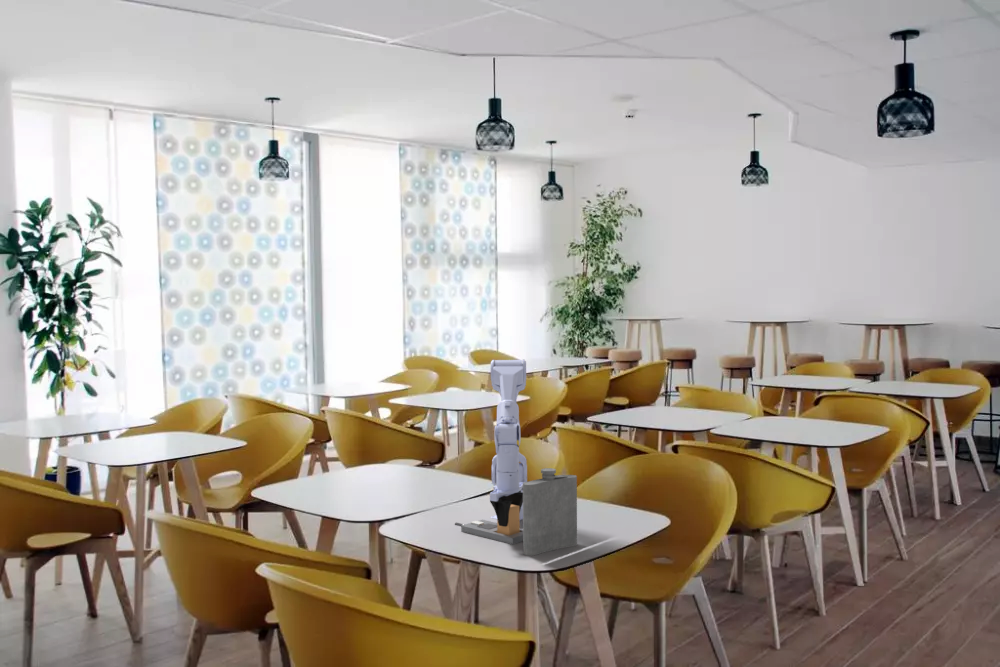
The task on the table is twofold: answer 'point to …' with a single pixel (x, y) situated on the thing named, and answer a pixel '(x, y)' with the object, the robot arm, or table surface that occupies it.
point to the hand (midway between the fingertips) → (508, 523)
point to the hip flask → (549, 513)
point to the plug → (511, 522)
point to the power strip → (490, 531)
